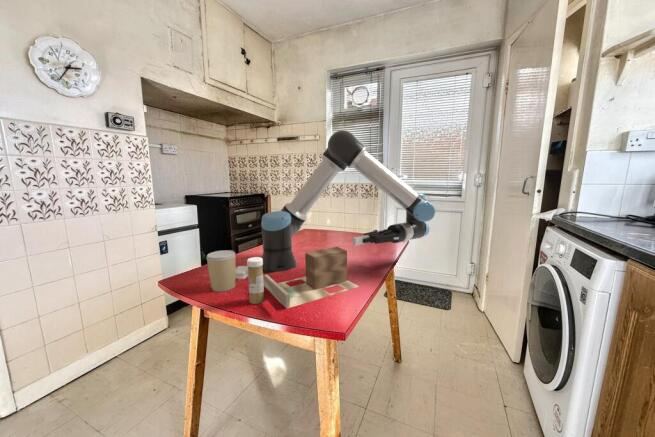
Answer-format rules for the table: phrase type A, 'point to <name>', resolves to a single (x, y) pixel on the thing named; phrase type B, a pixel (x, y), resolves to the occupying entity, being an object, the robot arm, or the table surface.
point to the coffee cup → (222, 270)
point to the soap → (241, 272)
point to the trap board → (299, 291)
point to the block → (326, 267)
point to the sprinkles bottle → (255, 280)
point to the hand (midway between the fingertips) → (354, 241)
